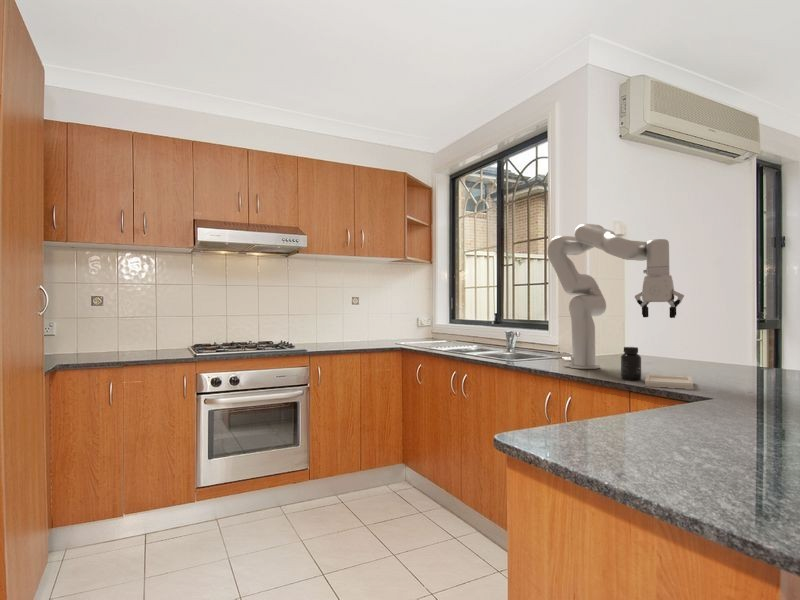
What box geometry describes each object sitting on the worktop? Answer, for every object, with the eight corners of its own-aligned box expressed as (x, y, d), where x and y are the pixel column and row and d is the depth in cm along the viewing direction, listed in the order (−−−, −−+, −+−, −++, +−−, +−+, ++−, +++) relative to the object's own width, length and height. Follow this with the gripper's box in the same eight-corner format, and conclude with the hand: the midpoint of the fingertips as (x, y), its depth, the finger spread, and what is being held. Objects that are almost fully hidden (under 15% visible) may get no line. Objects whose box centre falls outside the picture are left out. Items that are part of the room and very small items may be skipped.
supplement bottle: (644, 381, 171) (643, 348, 171) (623, 381, 173) (623, 348, 173) (638, 378, 178) (637, 346, 178) (619, 377, 179) (618, 346, 179)
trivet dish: (645, 386, 162) (645, 380, 162) (646, 380, 174) (646, 374, 174) (693, 389, 155) (693, 383, 155) (691, 382, 167) (691, 377, 167)
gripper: (630, 273, 183) (631, 317, 183) (678, 270, 169) (679, 318, 170) (639, 273, 188) (640, 316, 188) (687, 271, 174) (687, 317, 174)
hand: (658, 317), depth 179 cm, fingers open, 9 cm apart
